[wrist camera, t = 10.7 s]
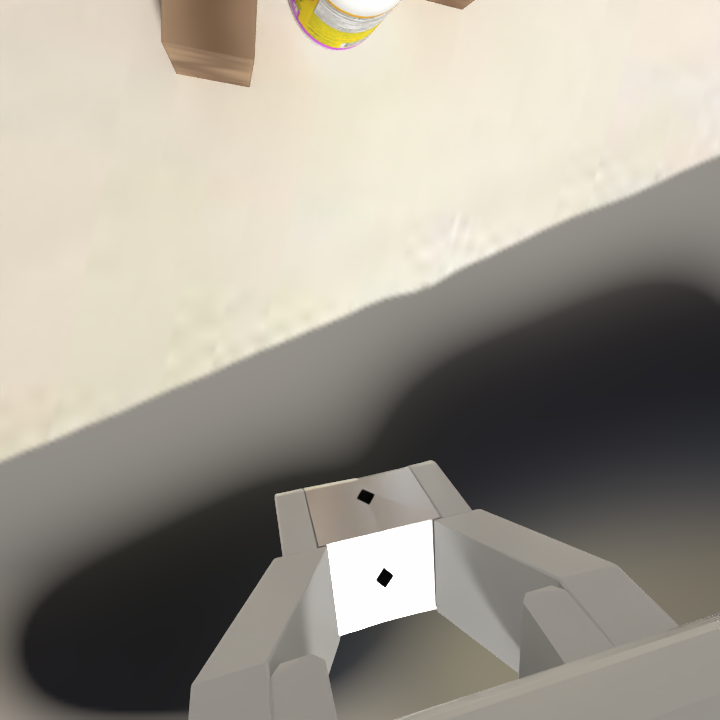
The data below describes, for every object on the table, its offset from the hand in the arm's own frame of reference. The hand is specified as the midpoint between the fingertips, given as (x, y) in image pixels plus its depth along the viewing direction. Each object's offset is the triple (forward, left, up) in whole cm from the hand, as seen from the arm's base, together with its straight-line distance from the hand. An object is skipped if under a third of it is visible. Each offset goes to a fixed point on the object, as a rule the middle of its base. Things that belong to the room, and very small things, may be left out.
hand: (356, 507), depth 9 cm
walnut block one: (-4, +15, -33) cm, 37 cm away
